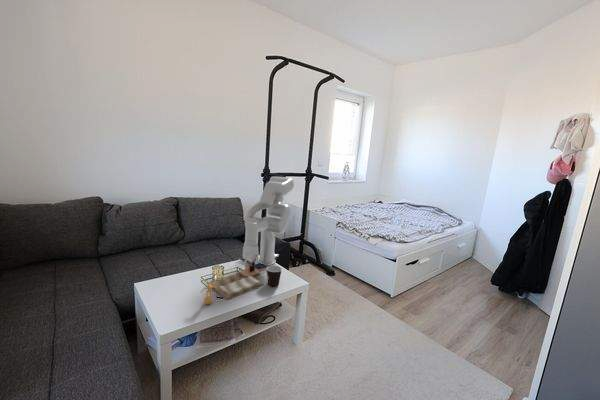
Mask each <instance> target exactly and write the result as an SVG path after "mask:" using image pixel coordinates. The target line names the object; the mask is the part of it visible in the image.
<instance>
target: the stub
mask: <svg viewBox="0 0 600 400" xmlns="http://www.w3.org/2000/svg"><path fill="white" fill-rule="evenodd" d="M252 263H253V262H252ZM250 266H251V262H250V261H248V262H246V263H245V266H244V269H243V270H240V271H239V273H240V274H242V275H244V276H245V277H248V276H255V275H257V274H260V273H261V271H260V270H259V269H258V268H256V267H255V268H254V271H252V272H250Z"/></svg>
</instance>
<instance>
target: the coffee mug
mask: <svg viewBox="0 0 600 400" xmlns="http://www.w3.org/2000/svg"><path fill="white" fill-rule="evenodd" d="M282 270H283V269H282V267H281V266H279V265H275V264H273V265H267V266H266V281H267V286H268V287H269V288H277V287H279V285H280V280H281V275H282Z"/></svg>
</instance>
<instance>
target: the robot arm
mask: <svg viewBox="0 0 600 400" xmlns="http://www.w3.org/2000/svg"><path fill="white" fill-rule="evenodd" d="M294 186H295V181H294V179H293V178H290V177H284V176H271V177H270V178H269V181H267V182H266V183H265V186H264V188H263V191H262V194H261V197H260V200H259V201H258V202H256V203H255V204H254V205H253V206H252V207H250V208H249V210H248V212H247V214H246V216H245V220H244V225H245V237H244V243H243V246H242V258H243V259H244V260H245V264H246V262H248V261H250V262H251V266H250V272H252V271H254V268H256V265H258V264H259V263H258V262H260V263H262V264H264V265H263V266H271V265H275V264H277V263H276V261H277V260H276V258H278V257H279V256H280V254H278V253H276V254H275V247H276V246H275V245H276V236H275V234H278V235H279V234H284V233H285V231H286V229H287V228H288V227H287V226H288V222H289V219H290V215H291V206H290V205H289V204H285V203H283V201H284V196H286V195H288V194H289V193H290V192H291V191H292V190H293V189H294ZM265 209H267V210H266V213H267V214H268V216H264V217H262V218H260V217H255V215H256V214H257V213H258V212H260V211H263V210H265ZM259 233H260V247H259ZM252 262H253V263H252Z"/></svg>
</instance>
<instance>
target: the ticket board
mask: <svg viewBox="0 0 600 400" xmlns="http://www.w3.org/2000/svg"><path fill="white" fill-rule="evenodd" d="M209 283H210V284H211V286H214V287H216V288H217V289H218V290H217V289H216V288H212V289H211V290H212V291H214V292H216V293H218V295H219V296H221V297H223V298H224V300H226V301H227V300H230V299H232V298H235V297H238V296H240V295H242V294H245V293H247V292H249V291H252V290H255V289H258V288H260V287H263V286H264V282H263V281H261V280H260V279H258V278H256V277H255V276H254V275H252V276H248V277H245V276H244V275H242V274H240V272H239V273H236V274H233V275H230V276H226V277H224V278H222V279H217V280H215V281H212V282H209Z"/></svg>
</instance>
